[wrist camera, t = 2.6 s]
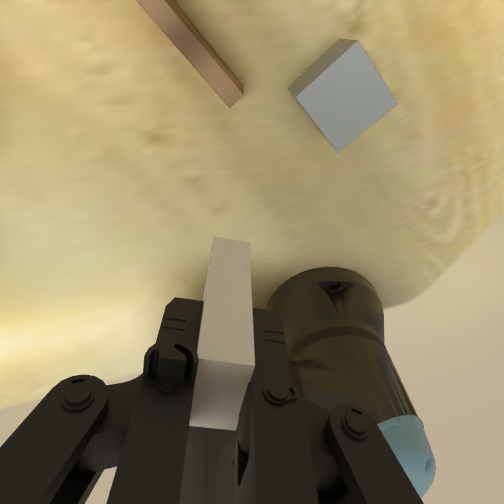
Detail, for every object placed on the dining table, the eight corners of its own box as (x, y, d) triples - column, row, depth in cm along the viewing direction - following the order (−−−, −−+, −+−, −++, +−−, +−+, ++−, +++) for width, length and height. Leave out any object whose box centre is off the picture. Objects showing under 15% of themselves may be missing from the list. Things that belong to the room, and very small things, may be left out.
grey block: (375, 93, 35) (398, 103, 30) (324, 135, 37) (337, 152, 32) (339, 39, 32) (358, 40, 27) (287, 87, 34) (295, 97, 29)
